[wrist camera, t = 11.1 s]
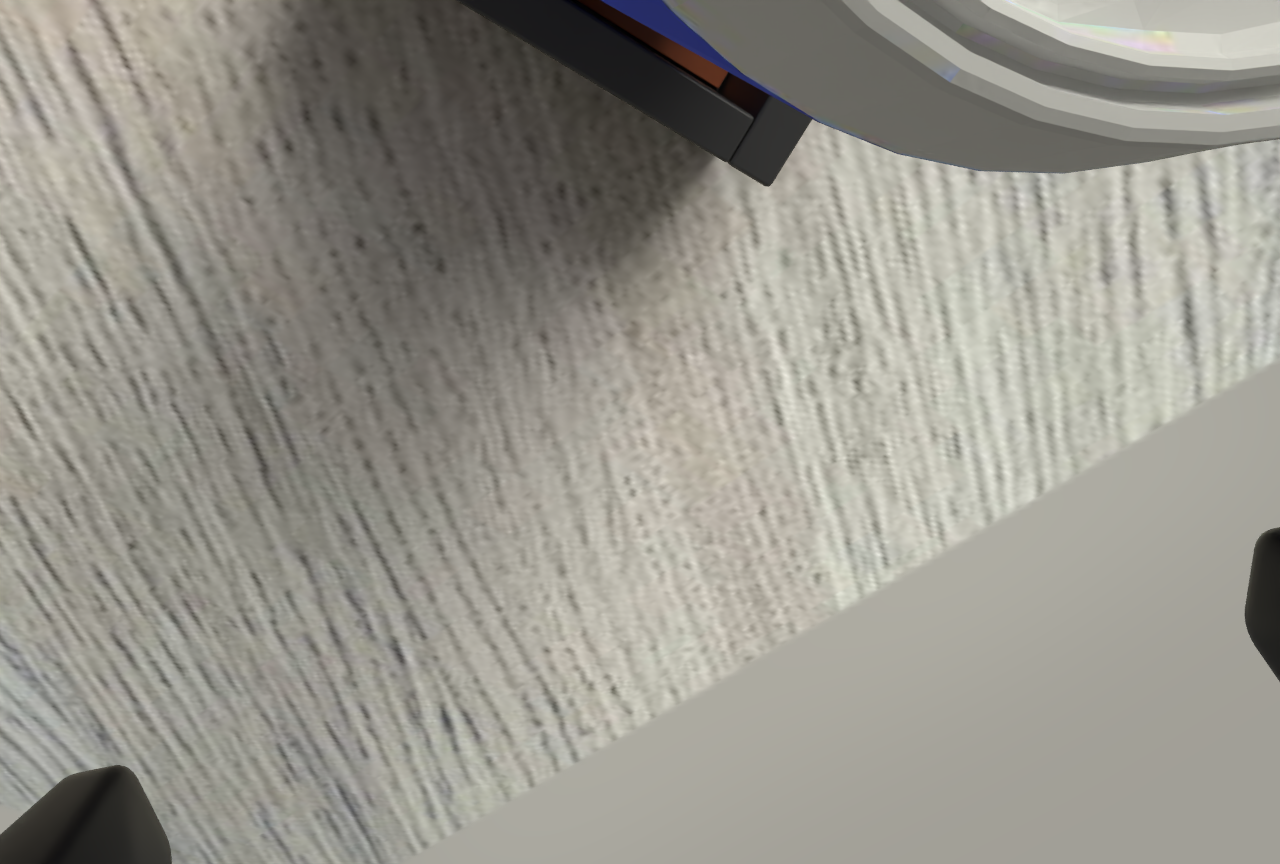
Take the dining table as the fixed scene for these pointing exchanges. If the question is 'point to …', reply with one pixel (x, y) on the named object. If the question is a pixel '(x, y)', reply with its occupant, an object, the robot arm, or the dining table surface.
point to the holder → (658, 79)
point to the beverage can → (1002, 73)
